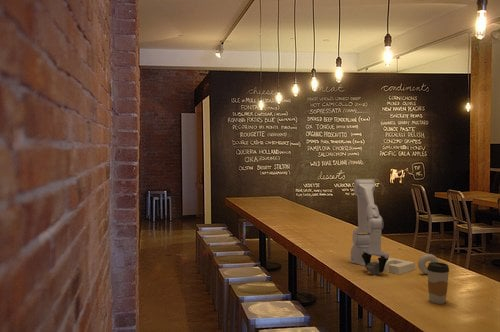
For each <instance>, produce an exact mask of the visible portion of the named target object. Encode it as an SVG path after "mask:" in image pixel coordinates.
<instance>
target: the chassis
mask: <svg viewBox="0 0 500 332" xmlns="http://www.w3.org/2000/svg"><path fill="white" fill-rule="evenodd" d="M377 261H378V260H377ZM378 262H379V261H378ZM415 270H416V262H415V261H414V262H413V261H408V260H404V259H399V258H395V257H389V258H388V260H387V262H386V264H385V267H384V270H383V272H386V271H388V273H389V274H394V273H395V275H402V274H406V273H409V272H412V271H415ZM408 271H409V272H408ZM405 272H406V273H405Z"/></svg>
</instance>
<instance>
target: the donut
mask: <svg viewBox="0 0 500 332" xmlns="http://www.w3.org/2000/svg"><path fill="white" fill-rule="evenodd" d="M417 262H418V263H417V267H418V269H419V271H420V272H421V273H423V274H425V275H428V270H427V268H428V266H426V263H427V262H430V263H431V262H439V263H440V261H439V259H438V258H437V256H436V255H434V254H432V253H425V254H423V255H422V256H421V257H419V259H418V261H417Z"/></svg>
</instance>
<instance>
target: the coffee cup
mask: <svg viewBox="0 0 500 332" xmlns="http://www.w3.org/2000/svg"><path fill="white" fill-rule="evenodd" d="M427 267H428V268H427V270H428V274H427V287H428V288H427V289H428V290H427V291H428V300H429V302H431V303H433V304H437V305H438V304H439V305H443V304H445V303H446V302H447V293H448V286H449V285H448V284H449V275H450V274H449V273H450V267H449V264H447V263H443V262H440V261H439V262H431V261H430V262H429V263H428V264H427Z"/></svg>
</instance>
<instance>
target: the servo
mask: <svg viewBox="0 0 500 332" xmlns="http://www.w3.org/2000/svg"><path fill="white" fill-rule="evenodd" d="M370 262H371V263H368V265H364V268H367V269H366V270H367V271H366V272H367V274H368V275H372V276H377V275H380V274H382V273H383V272H379V262H378V260H375V261H370Z"/></svg>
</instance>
